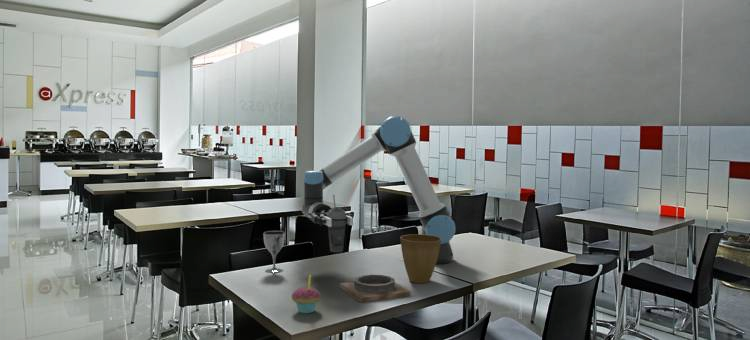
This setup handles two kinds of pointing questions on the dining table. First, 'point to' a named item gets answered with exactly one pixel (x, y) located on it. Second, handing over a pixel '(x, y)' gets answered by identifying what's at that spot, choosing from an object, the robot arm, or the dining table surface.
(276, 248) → the wine glass
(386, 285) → the ring holder
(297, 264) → the dining table surface
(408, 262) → the plant pot
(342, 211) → the beverage cup
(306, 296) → the cupcake
